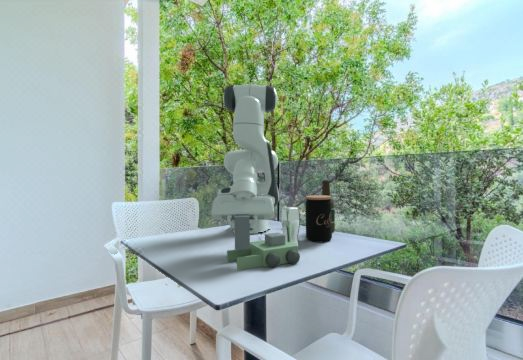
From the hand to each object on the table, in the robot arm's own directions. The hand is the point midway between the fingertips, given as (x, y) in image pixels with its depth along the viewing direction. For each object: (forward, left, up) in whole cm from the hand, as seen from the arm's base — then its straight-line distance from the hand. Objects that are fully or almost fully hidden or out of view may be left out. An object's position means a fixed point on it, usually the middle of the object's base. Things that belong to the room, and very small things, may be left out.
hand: (242, 229), depth 96 cm
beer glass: (-11, +24, -11) cm, 29 cm away
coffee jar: (-17, +41, -11) cm, 46 cm away
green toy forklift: (-1, +7, -11) cm, 13 cm away
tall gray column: (0, 0, -6) cm, 6 cm away
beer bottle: (-29, +54, -11) cm, 62 cm away
